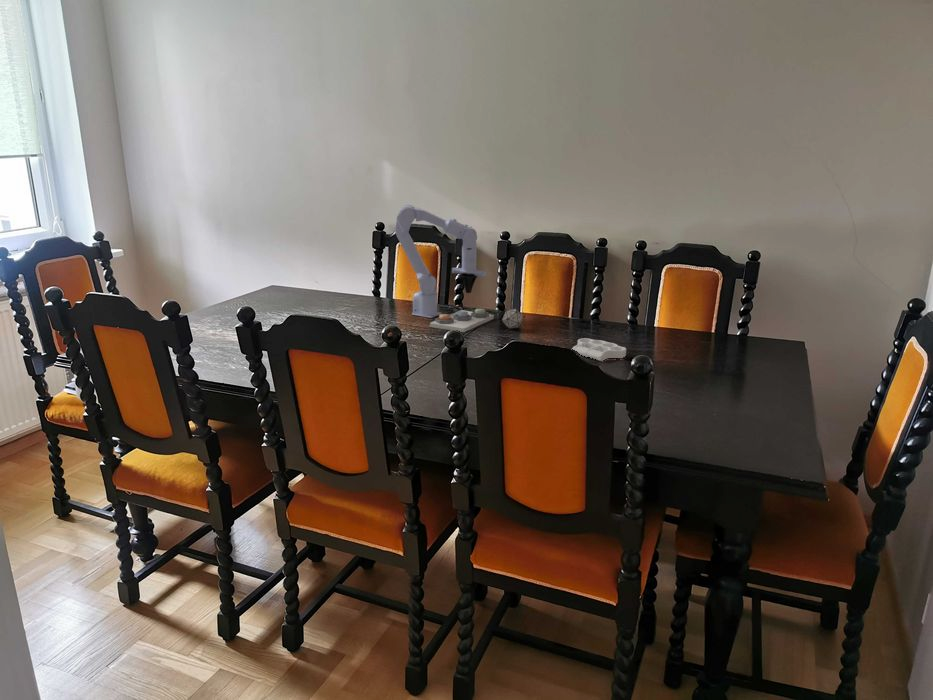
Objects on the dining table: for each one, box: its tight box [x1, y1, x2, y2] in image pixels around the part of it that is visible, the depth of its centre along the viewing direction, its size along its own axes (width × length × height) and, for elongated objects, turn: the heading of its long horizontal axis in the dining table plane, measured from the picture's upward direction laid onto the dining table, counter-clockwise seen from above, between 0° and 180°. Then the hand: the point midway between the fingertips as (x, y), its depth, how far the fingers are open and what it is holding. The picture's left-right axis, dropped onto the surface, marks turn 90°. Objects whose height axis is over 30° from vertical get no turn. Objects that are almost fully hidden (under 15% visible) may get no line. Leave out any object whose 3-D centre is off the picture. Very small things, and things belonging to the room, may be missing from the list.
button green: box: [474, 308, 486, 315], centre depth 273 cm, size 4×4×2 cm
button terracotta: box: [438, 313, 451, 320], centre depth 264 cm, size 4×4×2 cm
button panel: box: [429, 309, 495, 333], centre depth 269 cm, size 15×24×3 cm, turn 151°
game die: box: [499, 306, 526, 331], centre depth 260 cm, size 9×8×10 cm
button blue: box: [456, 310, 468, 317], centre depth 268 cm, size 4×4×2 cm
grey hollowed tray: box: [571, 337, 627, 362], centre depth 233 cm, size 3×18×15 cm
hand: (468, 292), depth 277 cm, fingers closed
